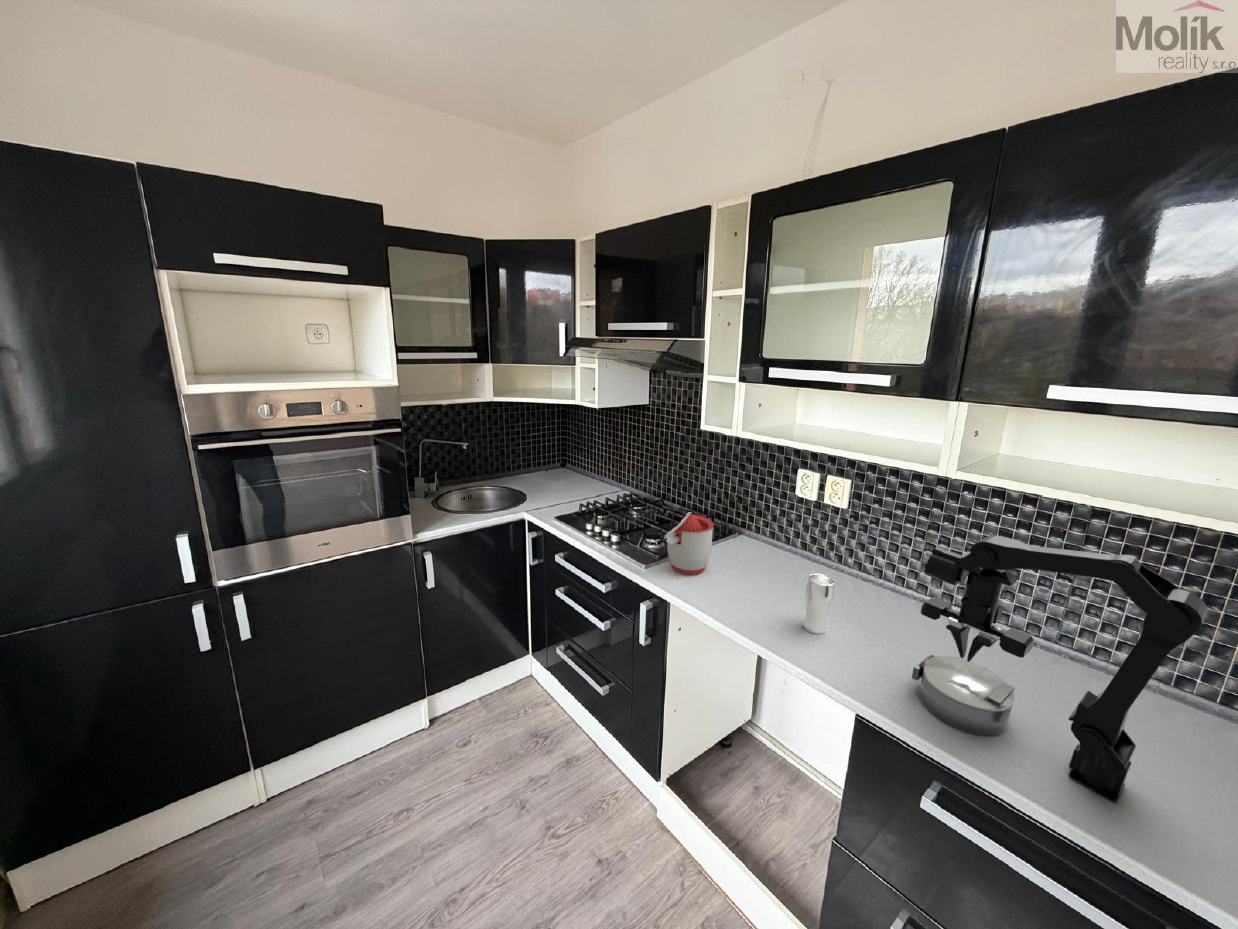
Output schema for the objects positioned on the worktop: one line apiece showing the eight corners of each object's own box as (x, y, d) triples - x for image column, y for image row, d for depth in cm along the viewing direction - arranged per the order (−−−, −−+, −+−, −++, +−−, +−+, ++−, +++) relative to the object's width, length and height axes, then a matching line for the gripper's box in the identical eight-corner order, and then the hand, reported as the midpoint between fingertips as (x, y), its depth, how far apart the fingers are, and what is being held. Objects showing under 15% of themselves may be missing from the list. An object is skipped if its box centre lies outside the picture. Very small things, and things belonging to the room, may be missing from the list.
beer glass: (832, 635, 131) (839, 585, 127) (807, 635, 131) (813, 585, 127) (821, 620, 138) (828, 573, 134) (797, 620, 138) (803, 572, 134)
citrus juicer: (652, 566, 168) (654, 513, 163) (687, 554, 178) (690, 503, 173) (684, 585, 156) (687, 527, 151) (720, 570, 166) (724, 516, 161)
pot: (1018, 714, 104) (1024, 691, 103) (989, 749, 95) (996, 724, 94) (931, 670, 118) (936, 649, 116) (899, 697, 109) (904, 674, 107)
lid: (1024, 690, 102) (1027, 682, 102) (996, 723, 94) (998, 715, 93) (939, 650, 115) (941, 642, 115) (907, 675, 107) (909, 667, 106)
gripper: (1051, 603, 97) (1032, 669, 101) (948, 567, 111) (935, 625, 116) (1032, 621, 91) (1013, 690, 95) (926, 580, 105) (913, 641, 109)
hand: (965, 659), depth 104 cm, fingers closed
